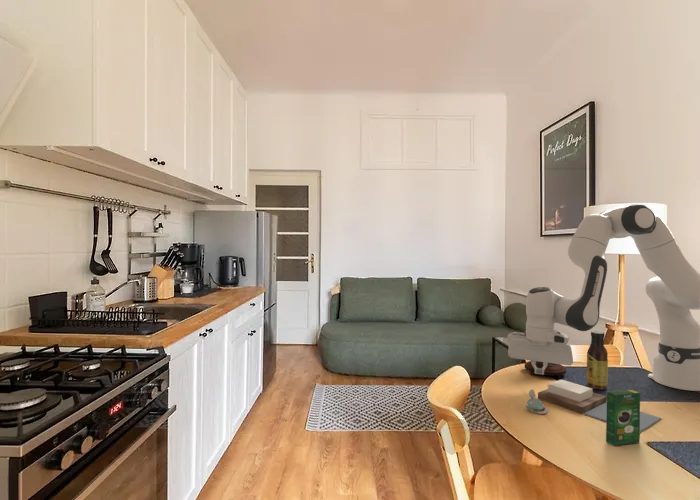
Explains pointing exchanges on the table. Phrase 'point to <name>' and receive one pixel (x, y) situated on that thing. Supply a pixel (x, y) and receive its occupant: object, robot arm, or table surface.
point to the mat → (601, 414)
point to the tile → (570, 390)
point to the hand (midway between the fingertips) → (539, 373)
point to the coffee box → (623, 417)
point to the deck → (572, 401)
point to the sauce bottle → (597, 362)
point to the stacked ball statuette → (547, 368)
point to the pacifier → (535, 404)
